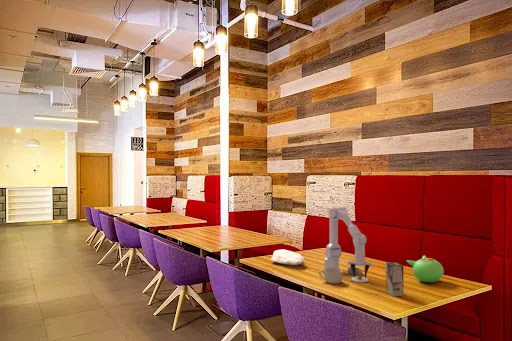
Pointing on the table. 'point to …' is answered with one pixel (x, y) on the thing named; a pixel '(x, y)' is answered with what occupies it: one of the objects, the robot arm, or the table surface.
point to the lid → (360, 278)
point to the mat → (360, 282)
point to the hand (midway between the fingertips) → (360, 277)
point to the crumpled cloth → (287, 257)
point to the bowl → (355, 271)
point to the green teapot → (427, 269)
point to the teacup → (332, 275)
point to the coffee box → (394, 279)
